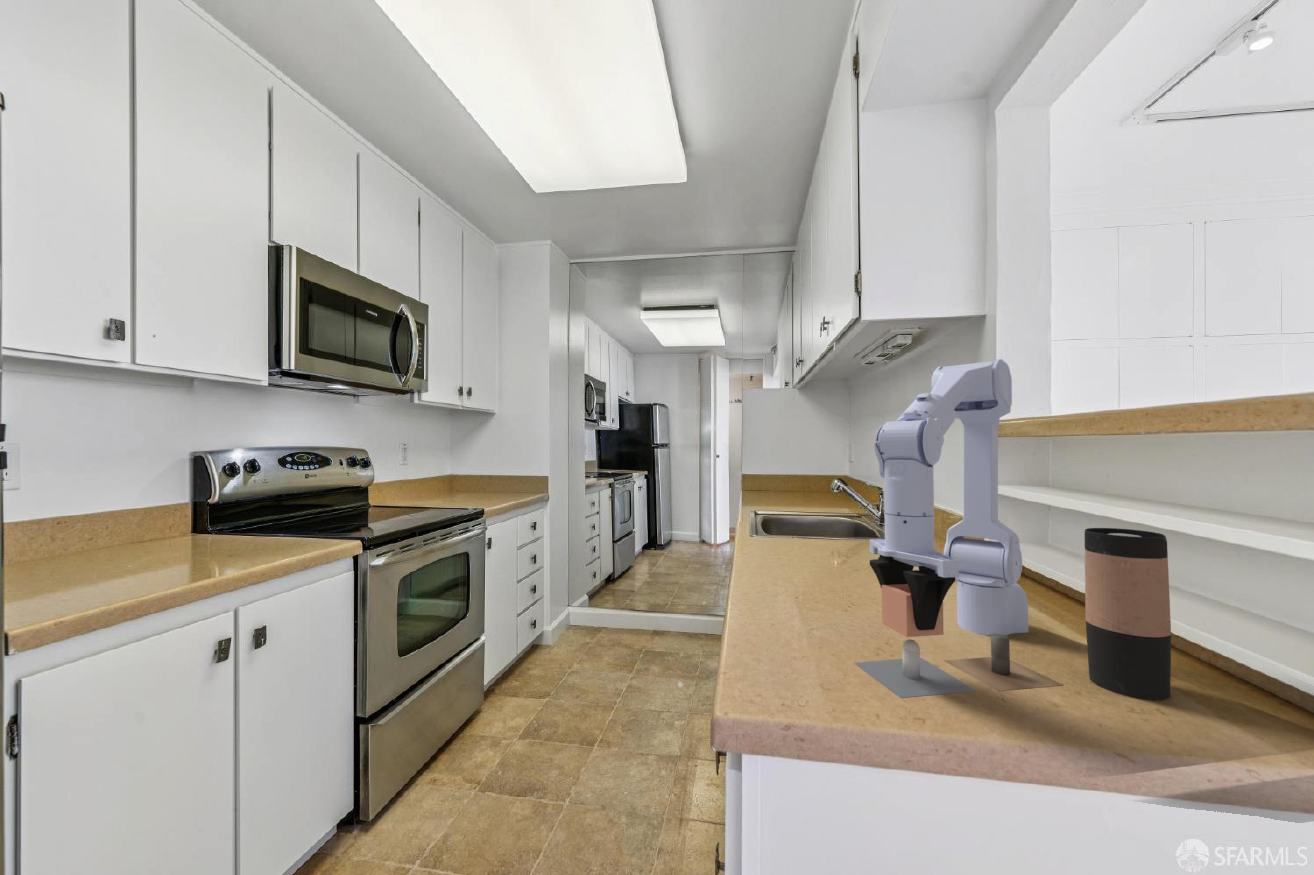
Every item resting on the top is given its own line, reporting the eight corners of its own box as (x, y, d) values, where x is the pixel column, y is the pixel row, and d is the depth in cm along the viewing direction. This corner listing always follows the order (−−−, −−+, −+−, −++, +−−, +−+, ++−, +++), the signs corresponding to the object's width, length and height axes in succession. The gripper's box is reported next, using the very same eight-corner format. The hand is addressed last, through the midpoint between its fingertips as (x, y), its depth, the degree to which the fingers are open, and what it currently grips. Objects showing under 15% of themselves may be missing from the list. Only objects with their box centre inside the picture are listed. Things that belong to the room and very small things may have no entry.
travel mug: (1071, 683, 66) (1067, 527, 67) (1132, 684, 66) (1128, 527, 66) (1123, 713, 58) (1119, 537, 59) (1193, 714, 58) (1187, 537, 59)
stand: (1002, 666, 71) (1001, 623, 71) (1063, 697, 62) (1062, 647, 63) (944, 671, 70) (943, 627, 70) (999, 703, 61) (998, 652, 61)
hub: (920, 668, 71) (919, 624, 71) (977, 703, 61) (976, 652, 61) (853, 673, 69) (853, 628, 69) (901, 710, 59) (900, 658, 59)
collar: (916, 621, 68) (916, 583, 68) (943, 634, 63) (942, 593, 63) (882, 623, 67) (881, 585, 67) (906, 637, 62) (906, 595, 62)
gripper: (849, 508, 72) (850, 606, 72) (918, 522, 58) (920, 644, 57) (895, 507, 73) (896, 603, 73) (973, 521, 59) (976, 640, 59)
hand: (910, 621), depth 65 cm, fingers closed on collar, 5 cm apart
